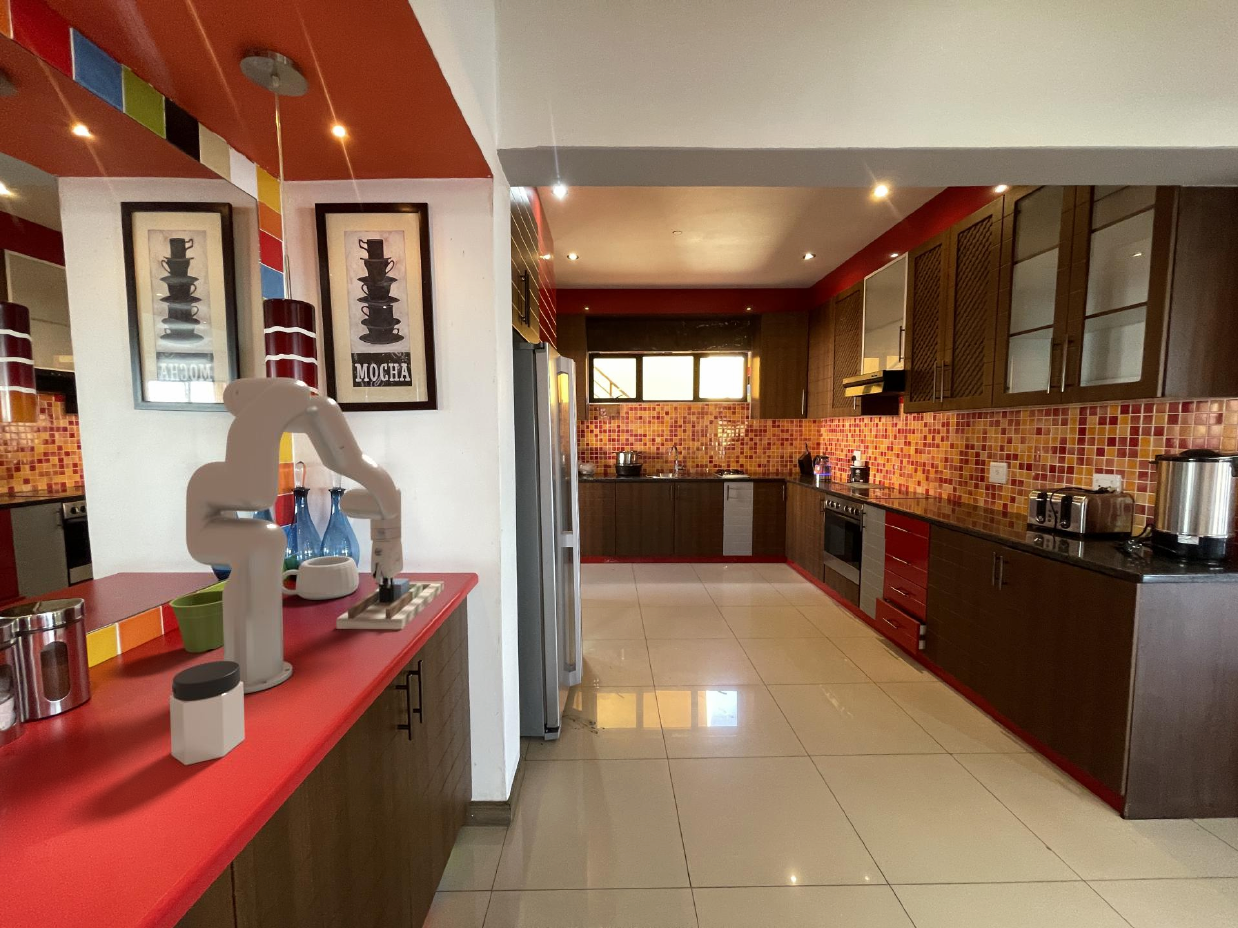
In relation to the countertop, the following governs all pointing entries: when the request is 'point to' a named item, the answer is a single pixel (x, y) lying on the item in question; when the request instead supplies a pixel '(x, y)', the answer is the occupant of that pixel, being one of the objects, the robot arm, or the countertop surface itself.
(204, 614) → the plant pot
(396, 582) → the slate block
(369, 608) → the tunnel board
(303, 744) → the countertop surface
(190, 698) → the jar
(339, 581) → the mug
